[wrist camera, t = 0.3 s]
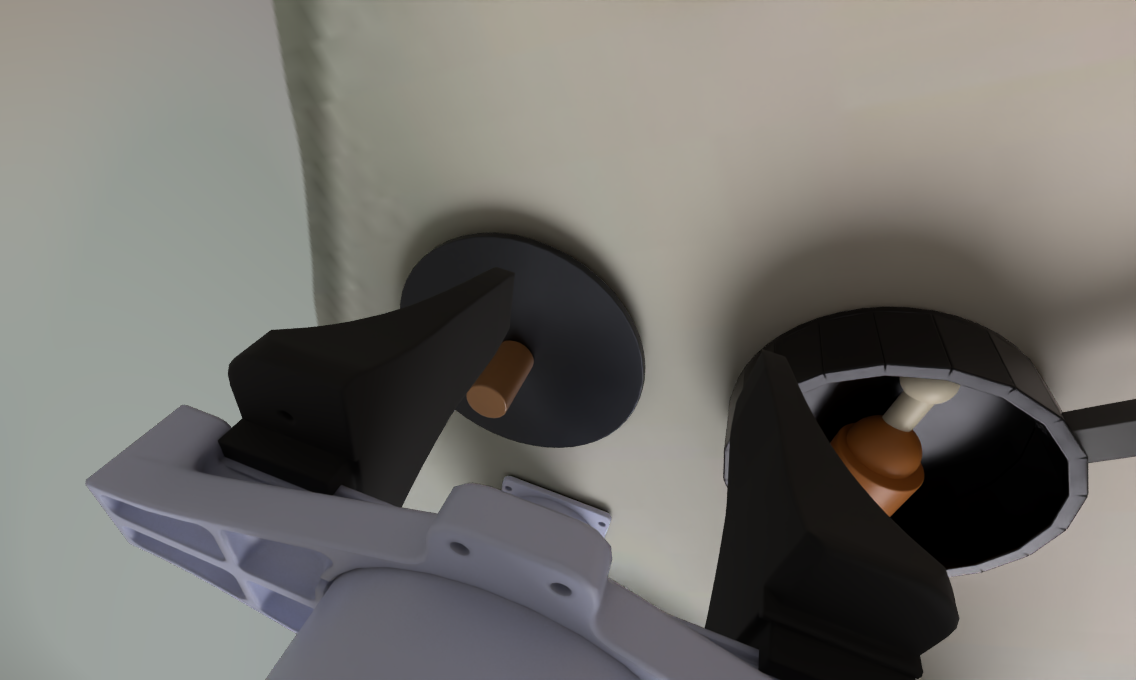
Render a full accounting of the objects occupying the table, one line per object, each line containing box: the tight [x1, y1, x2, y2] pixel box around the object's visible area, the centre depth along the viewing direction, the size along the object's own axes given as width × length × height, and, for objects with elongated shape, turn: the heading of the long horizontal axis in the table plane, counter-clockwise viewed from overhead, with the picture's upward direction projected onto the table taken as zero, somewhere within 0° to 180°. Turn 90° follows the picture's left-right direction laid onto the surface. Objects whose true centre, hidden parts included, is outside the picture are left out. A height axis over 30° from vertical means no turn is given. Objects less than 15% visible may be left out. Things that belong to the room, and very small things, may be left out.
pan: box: [723, 307, 1088, 577], centre depth 24 cm, size 13×13×4 cm
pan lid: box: [400, 233, 645, 448], centre depth 28 cm, size 14×14×5 cm
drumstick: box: [830, 377, 960, 517], centre depth 24 cm, size 10×4×4 cm, turn 170°
